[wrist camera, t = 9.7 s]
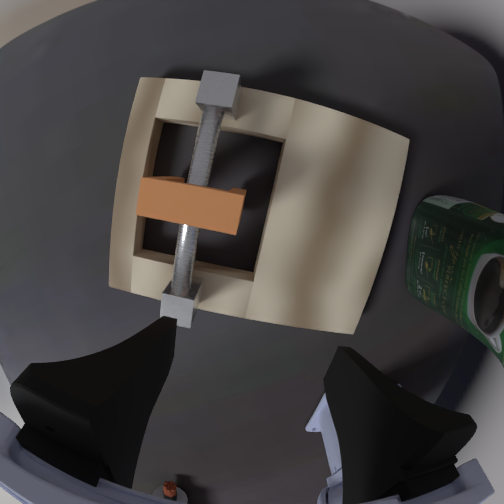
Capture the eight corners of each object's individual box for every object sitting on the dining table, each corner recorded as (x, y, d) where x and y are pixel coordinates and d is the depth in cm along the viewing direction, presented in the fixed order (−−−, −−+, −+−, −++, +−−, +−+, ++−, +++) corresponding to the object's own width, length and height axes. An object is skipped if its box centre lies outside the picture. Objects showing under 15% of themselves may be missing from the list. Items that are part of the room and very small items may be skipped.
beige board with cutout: (397, 141, 18) (409, 139, 16) (345, 322, 23) (353, 334, 21) (149, 85, 17) (140, 77, 15) (119, 277, 21) (108, 286, 19)
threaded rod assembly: (241, 93, 16) (239, 75, 12) (199, 302, 20) (190, 328, 16) (212, 89, 16) (203, 70, 12) (173, 297, 20) (159, 320, 16)
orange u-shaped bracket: (246, 189, 19) (244, 195, 13) (240, 217, 19) (235, 235, 14) (173, 176, 19) (141, 177, 13) (168, 203, 19) (135, 214, 13)
